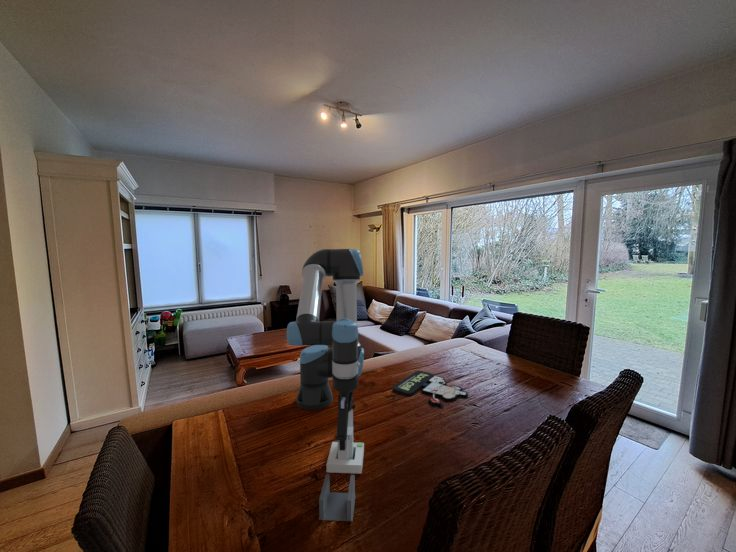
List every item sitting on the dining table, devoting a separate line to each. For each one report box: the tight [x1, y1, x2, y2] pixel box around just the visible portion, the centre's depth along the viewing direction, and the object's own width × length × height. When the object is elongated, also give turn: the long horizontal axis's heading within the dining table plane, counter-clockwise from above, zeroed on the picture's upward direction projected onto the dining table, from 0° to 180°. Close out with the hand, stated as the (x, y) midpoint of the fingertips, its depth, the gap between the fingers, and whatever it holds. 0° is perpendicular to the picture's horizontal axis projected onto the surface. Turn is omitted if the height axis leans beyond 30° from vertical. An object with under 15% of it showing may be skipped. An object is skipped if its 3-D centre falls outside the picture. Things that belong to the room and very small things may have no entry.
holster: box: [318, 473, 357, 522], centre depth 73 cm, size 8×8×6 cm
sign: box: [392, 370, 469, 409], centre depth 136 cm, size 27×2×30 cm
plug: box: [347, 426, 355, 460], centre depth 89 cm, size 4×4×10 cm
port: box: [326, 441, 365, 474], centre depth 89 cm, size 10×10×3 cm
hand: (346, 443), depth 88 cm, fingers open, 13 cm apart
